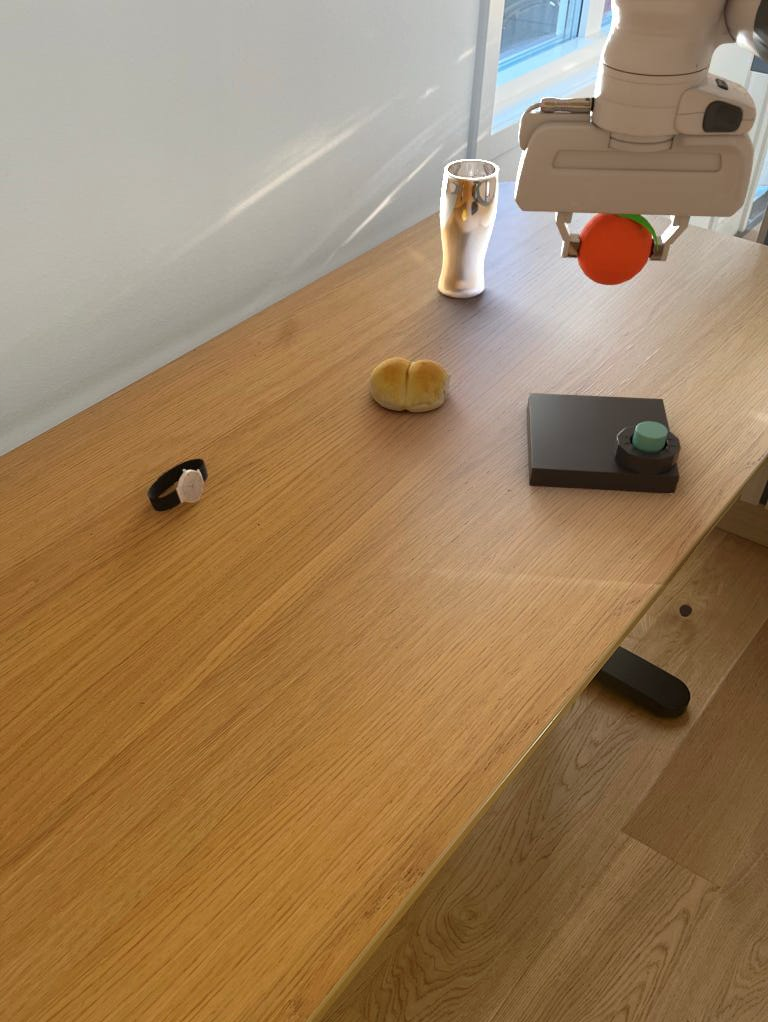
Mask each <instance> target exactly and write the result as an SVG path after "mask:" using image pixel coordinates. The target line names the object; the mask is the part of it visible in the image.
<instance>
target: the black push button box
mask: <svg viewBox="0 0 768 1022" xmlns="http://www.w3.org/2000/svg"><path fill="white" fill-rule="evenodd" d="M646 421H651V422H657V423H660V424H662V425H664V426H665V427H666V428H667V430H668V434H667V438H666V441H665V445H664V448H663V449H662V450H661V451H659V452H645V451H642V450H639V449H636V448H635V447H634V446H633V444H632V440H633V436H634V433H635V429H636V426H637V425H638V424H639V423H642V422H646ZM526 432H527V433H526V437H527V465H528V486H530V487H543V488H559V489H560V488H561V489H576V490H577V489H580V490H593V491H595V490H596V491H614V492H631V493H649V494H663V493H668V494H667V495H670V494H669V493H674V494H675V493H676V489H677V486H678V483H679V480H680V473H679V468H678V463H677V462H678V458H679V455H680V453H681V448H682V447H681V443H680V438H679V437H677V436H676V435H675V434H674V433H673V432H671V430H670V426H669V422H668V416H667V413H666V408H665V403H664V399H663V398H652V397H651V398H650V397H629V396H627V397H626V396H607V395H583V394H581V395H580V394H561V393H560V394H559V393H541V392H540V393H539V392H538V393H537V392H529V393H528V398H527V405H526Z"/></svg>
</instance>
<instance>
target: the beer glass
mask: <svg viewBox="0 0 768 1022" xmlns="http://www.w3.org/2000/svg"><path fill="white" fill-rule="evenodd" d="M499 172H500V168H499V166H498V165H496V164H495V163H493V162H491V161H487V160H482V159H460V160H456V161H452V162H450V163H448V164H447V165H446V166H445V167H444V173H443V180H442V187H441V195H440V196H441V197H440V204H439V205H440V206H439V223H440V235H441V244H442V266H441V272H440V275H439V279H438V283H437V288H438V291H439V292H440V293H441V292H442V293H441V294H442V295H445V296H447V297H450V298H454V299H469V298H473V297H477V296H479V295H481V294H482V293H483V292H484V290H485V276H484V265H485V264H484V263H485V258H486V253H487V249H488V246H489V242H490V239H491V237H492V236H491V235H492V232H493V229H494V224H495V220H496V215H497V207H498V199H499V174H500V173H499Z"/></svg>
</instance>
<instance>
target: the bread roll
mask: <svg viewBox="0 0 768 1022" xmlns="http://www.w3.org/2000/svg"><path fill="white" fill-rule="evenodd" d="M450 381H451V375H450V374H449V373H448V372H447V370H446V369H445V368H444V367H443V366H442V365H440V364H439V363H438V362H436V361H433V360H432V359H428V358H423V359H418V360H416V361H410V360H408V359H407V358H404V357H399V356H394V357H389V358H388V359H385V360H383V361H382V362H380V363H379V364H377V366H375V368H374V369H373V370H372V372H371V374H370V376H369V378H368V390H369V394H370V395H371V397H372V399H373V400H374V401H375V402H376V403H377V404H379V405H380V406H381V407H383V408H385V409H387V410H391V411H396V412H402V411H405V410H407V411H408V412H411V413H424V412H429V411H432V410H436V409H437V408H439V407H441V406H442V405H443V404H444V403H445V400H446V399H447V398H448V397H447V396H448V393H449V387H450Z"/></svg>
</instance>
